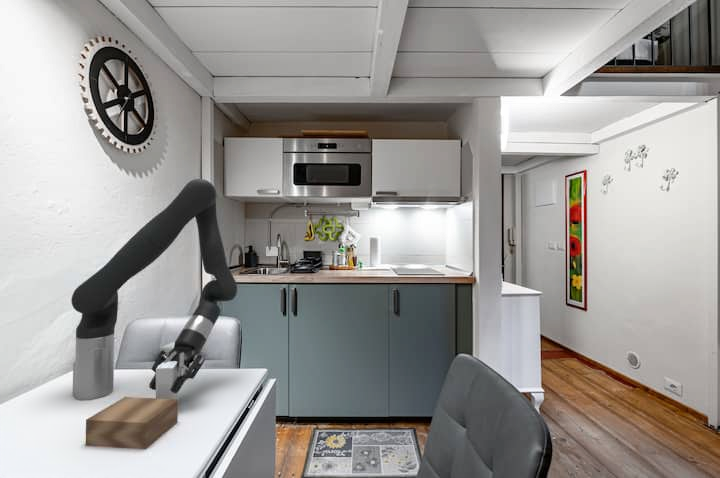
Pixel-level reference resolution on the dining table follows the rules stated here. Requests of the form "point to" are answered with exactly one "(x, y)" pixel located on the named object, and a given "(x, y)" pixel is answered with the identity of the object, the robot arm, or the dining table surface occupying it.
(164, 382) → the skincare box
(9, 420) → the dining table surface
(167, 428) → the walnut block
